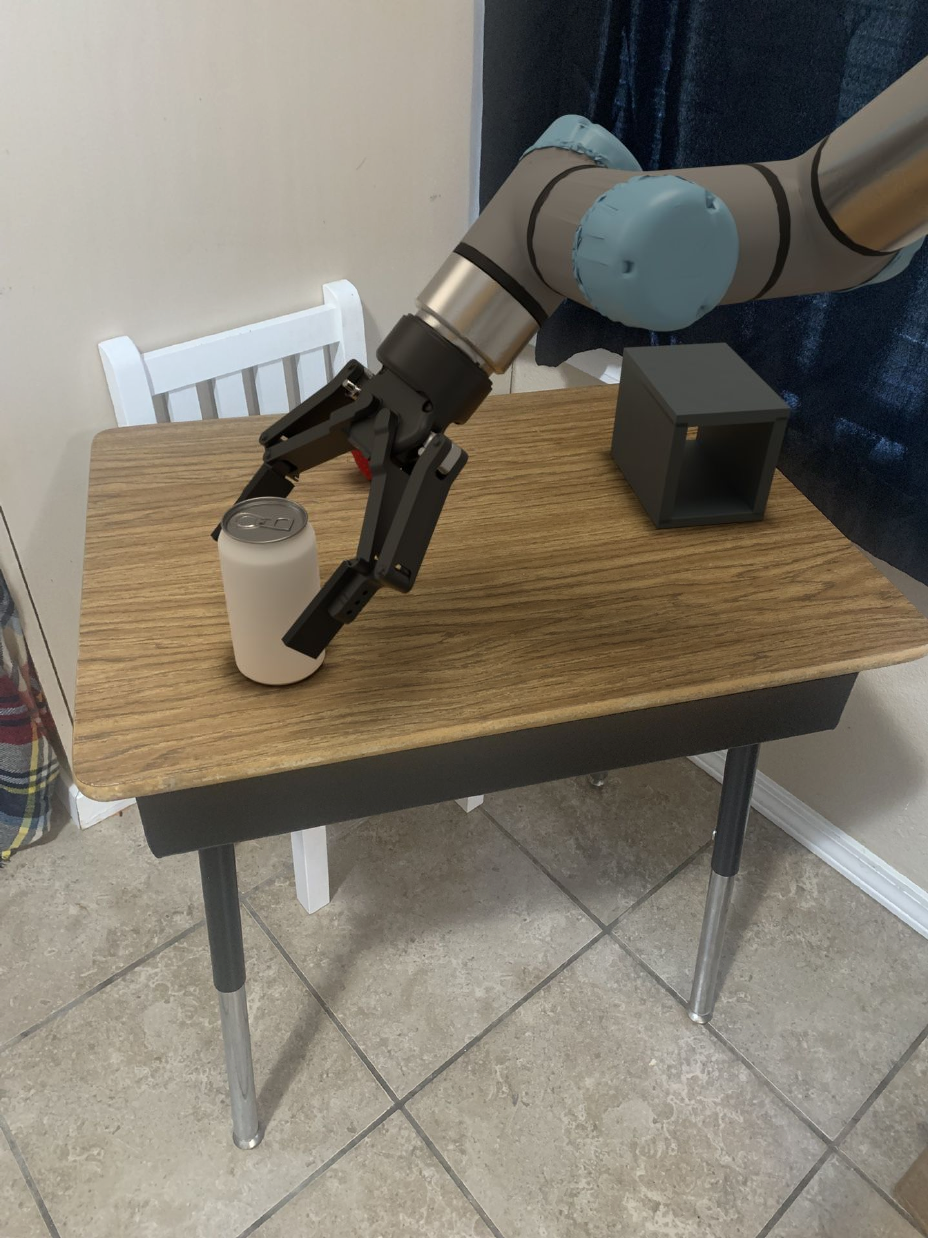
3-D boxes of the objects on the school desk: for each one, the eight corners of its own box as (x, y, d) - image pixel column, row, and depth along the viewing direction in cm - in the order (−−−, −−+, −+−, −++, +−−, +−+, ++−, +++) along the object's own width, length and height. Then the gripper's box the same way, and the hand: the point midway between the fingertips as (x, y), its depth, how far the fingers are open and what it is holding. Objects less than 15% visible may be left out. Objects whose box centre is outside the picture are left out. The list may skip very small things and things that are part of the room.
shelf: (763, 520, 88) (791, 407, 81) (657, 529, 86) (676, 414, 80) (704, 447, 99) (725, 342, 92) (609, 453, 97) (623, 347, 90)
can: (249, 627, 74) (230, 489, 66) (334, 634, 73) (324, 496, 66) (224, 684, 69) (200, 541, 61) (315, 692, 68) (301, 549, 61)
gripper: (595, 454, 58) (376, 720, 61) (402, 314, 75) (238, 529, 78) (527, 388, 53) (290, 684, 56) (335, 253, 70) (161, 487, 73)
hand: (259, 594), depth 67 cm, fingers open, 13 cm apart
